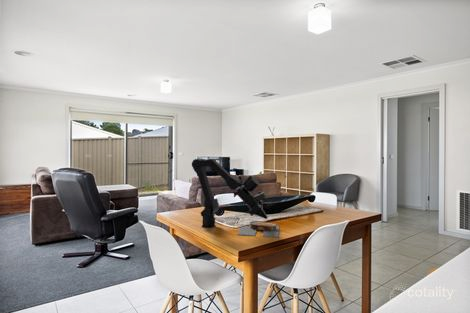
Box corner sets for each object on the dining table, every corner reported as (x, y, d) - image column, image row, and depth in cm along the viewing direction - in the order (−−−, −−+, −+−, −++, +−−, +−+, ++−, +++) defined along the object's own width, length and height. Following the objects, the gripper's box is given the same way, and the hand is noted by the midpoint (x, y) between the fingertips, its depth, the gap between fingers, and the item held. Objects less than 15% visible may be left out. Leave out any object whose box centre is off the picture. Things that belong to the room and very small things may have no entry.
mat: (237, 235, 145) (237, 234, 145) (242, 224, 164) (242, 224, 164) (278, 237, 141) (278, 236, 141) (279, 226, 161) (279, 225, 161)
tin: (247, 223, 155) (253, 219, 163) (247, 229, 155) (253, 224, 163) (274, 227, 149) (278, 222, 157) (274, 232, 149) (278, 227, 157)
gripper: (255, 189, 142) (277, 212, 140) (258, 184, 160) (278, 204, 158) (240, 204, 143) (261, 226, 142) (245, 198, 161) (264, 218, 160)
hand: (267, 218), depth 150 cm, fingers closed
